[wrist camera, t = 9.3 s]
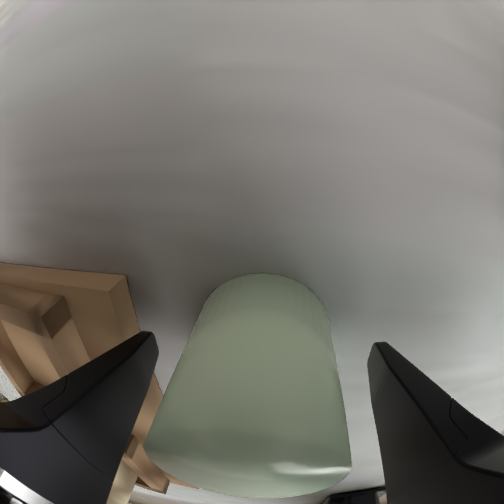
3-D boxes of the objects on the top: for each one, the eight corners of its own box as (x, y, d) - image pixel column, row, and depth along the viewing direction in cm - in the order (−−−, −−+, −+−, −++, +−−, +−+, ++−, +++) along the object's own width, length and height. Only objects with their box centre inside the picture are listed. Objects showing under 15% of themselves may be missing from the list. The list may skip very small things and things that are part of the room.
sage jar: (319, 374, 10) (327, 497, 5) (207, 368, 11) (171, 484, 6) (336, 274, 8) (383, 427, 3) (193, 270, 9) (111, 404, 4)
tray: (201, 477, 17) (195, 502, 14) (74, 436, 18) (65, 454, 16) (125, 275, 9) (84, 315, 7) (-25, 259, 11) (-50, 276, 8)
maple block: (141, 466, 15) (120, 522, 10) (93, 448, 16) (69, 496, 10) (118, 440, 13) (89, 506, 8) (66, 418, 14) (35, 472, 8)
